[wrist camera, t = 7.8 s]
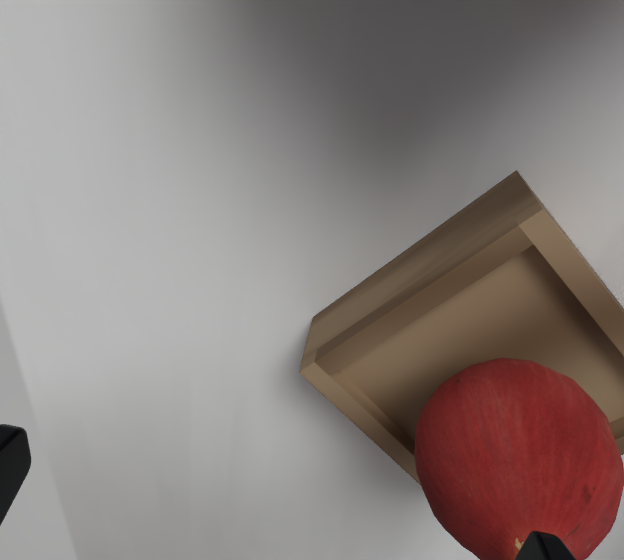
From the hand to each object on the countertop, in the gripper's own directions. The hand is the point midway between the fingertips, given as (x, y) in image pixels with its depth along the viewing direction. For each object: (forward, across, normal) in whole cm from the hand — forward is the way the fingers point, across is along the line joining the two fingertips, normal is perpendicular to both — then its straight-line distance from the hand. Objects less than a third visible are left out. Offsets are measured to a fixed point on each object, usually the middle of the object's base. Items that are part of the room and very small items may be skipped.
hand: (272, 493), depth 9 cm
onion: (+10, -7, +4) cm, 13 cm away
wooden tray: (+12, -7, +4) cm, 15 cm away
